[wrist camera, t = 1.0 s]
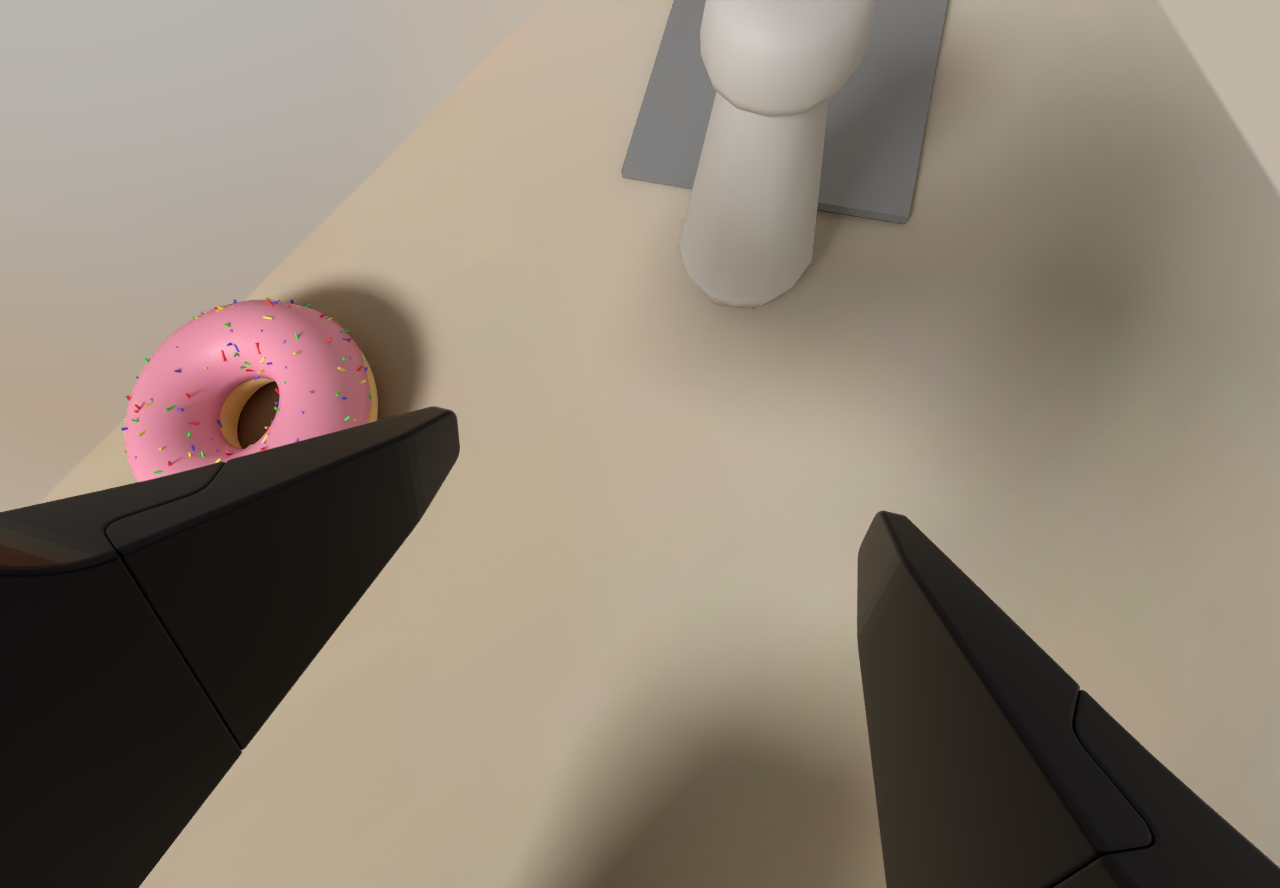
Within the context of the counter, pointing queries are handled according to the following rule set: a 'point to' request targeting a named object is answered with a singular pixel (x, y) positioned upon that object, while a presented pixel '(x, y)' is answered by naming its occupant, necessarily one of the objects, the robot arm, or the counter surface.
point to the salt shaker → (765, 140)
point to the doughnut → (244, 385)
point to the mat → (856, 116)
